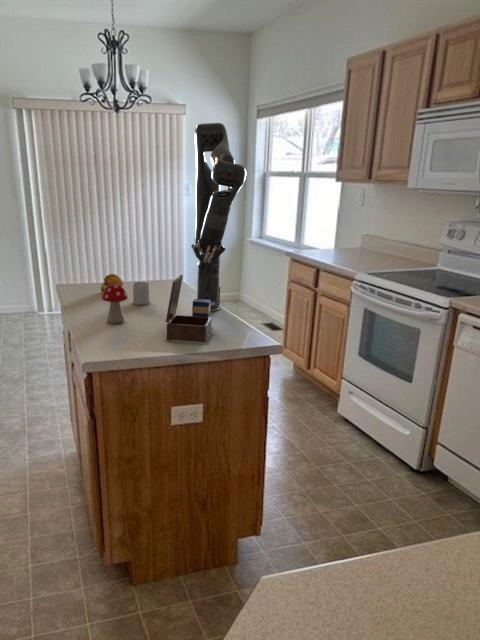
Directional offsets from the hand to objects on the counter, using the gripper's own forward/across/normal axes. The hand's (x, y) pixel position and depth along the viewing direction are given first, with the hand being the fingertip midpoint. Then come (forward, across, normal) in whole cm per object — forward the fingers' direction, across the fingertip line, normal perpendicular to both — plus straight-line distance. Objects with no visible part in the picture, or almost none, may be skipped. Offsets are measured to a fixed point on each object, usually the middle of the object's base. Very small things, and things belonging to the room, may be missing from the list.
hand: (202, 270), depth 187 cm
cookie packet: (+24, -5, +2) cm, 24 cm away
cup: (+40, -2, -43) cm, 59 cm away
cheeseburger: (+49, +3, -66) cm, 82 cm away
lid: (+10, +9, +2) cm, 14 cm away
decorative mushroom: (+33, +21, -18) cm, 43 cm away
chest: (+22, +4, +10) cm, 24 cm away
